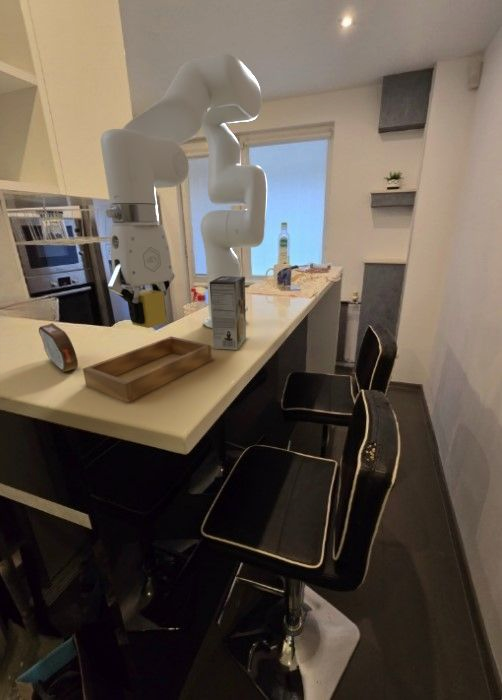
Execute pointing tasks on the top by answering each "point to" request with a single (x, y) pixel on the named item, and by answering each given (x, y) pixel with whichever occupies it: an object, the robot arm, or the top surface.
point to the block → (152, 308)
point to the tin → (58, 347)
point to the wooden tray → (105, 371)
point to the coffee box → (228, 312)
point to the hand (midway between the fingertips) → (149, 318)
